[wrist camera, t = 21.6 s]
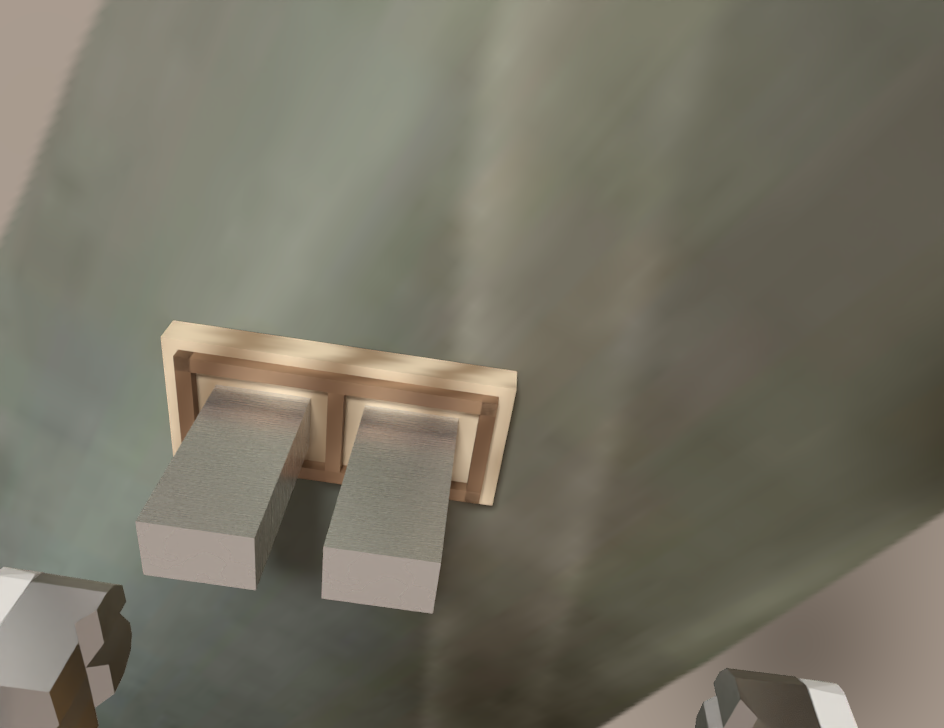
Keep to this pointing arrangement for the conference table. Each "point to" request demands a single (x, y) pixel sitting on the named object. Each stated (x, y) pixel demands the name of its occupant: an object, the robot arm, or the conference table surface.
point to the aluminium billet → (391, 511)
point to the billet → (226, 489)
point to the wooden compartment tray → (344, 395)
